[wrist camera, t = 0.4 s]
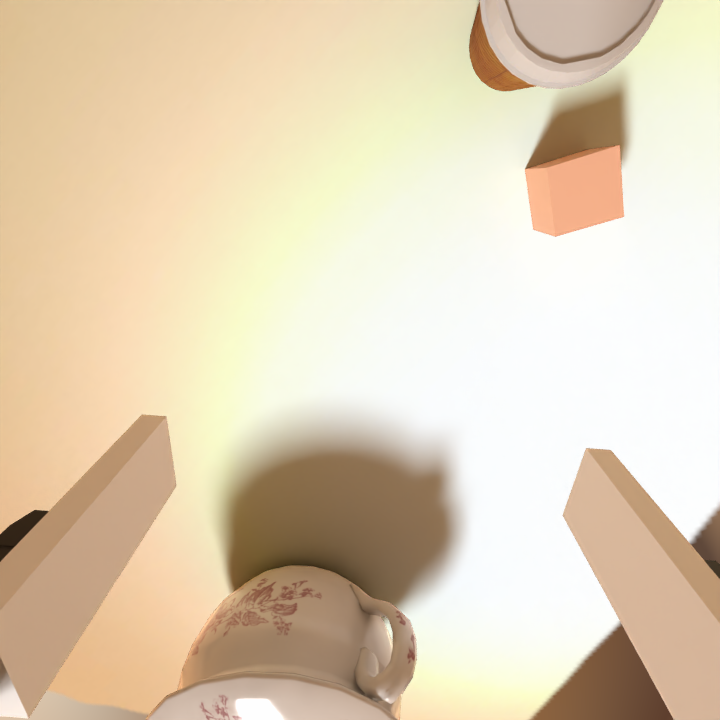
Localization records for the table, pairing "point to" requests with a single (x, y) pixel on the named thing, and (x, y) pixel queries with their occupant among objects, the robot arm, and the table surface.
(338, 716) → the chamber pot
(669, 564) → the robot arm
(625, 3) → the disposable coffee cup
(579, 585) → the table surface
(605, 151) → the terracotta cube
